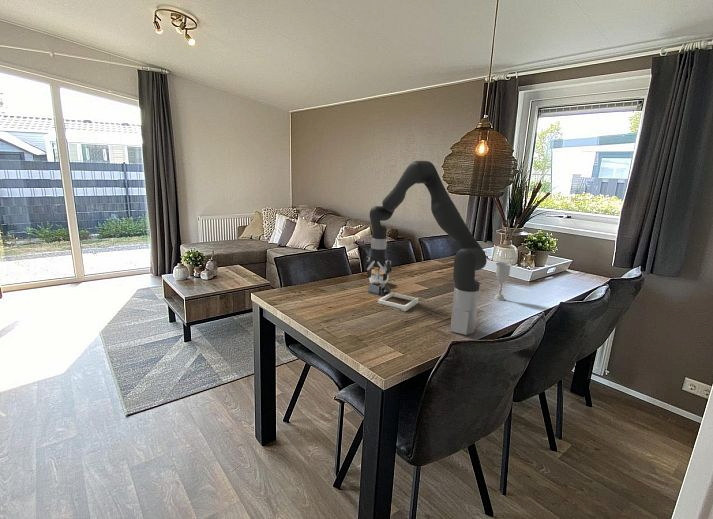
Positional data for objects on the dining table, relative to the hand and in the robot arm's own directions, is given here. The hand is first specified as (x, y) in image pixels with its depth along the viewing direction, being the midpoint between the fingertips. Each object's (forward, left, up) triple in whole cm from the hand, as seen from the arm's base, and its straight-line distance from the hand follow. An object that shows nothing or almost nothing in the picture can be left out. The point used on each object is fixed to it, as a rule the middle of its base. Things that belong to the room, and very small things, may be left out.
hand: (377, 279), depth 188 cm
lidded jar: (+13, +6, -8) cm, 16 cm away
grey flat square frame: (-7, -16, -8) cm, 19 cm away
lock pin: (0, 0, -7) cm, 7 cm away
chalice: (+31, -53, -8) cm, 62 cm away
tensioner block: (0, -2, -8) cm, 8 cm away
